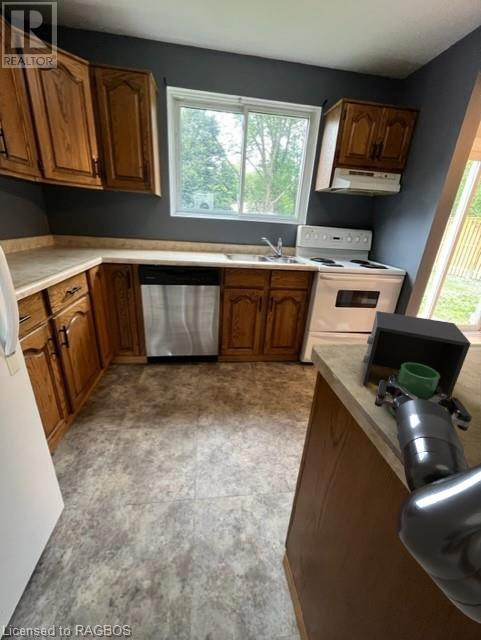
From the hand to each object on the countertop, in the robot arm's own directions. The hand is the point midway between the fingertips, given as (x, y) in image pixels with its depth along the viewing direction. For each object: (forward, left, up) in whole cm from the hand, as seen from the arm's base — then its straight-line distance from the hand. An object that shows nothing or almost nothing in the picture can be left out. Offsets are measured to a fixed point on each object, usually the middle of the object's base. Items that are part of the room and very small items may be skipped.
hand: (412, 382), depth 54 cm
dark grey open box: (0, -11, -6) cm, 13 cm away
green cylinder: (0, +2, -6) cm, 6 cm away
